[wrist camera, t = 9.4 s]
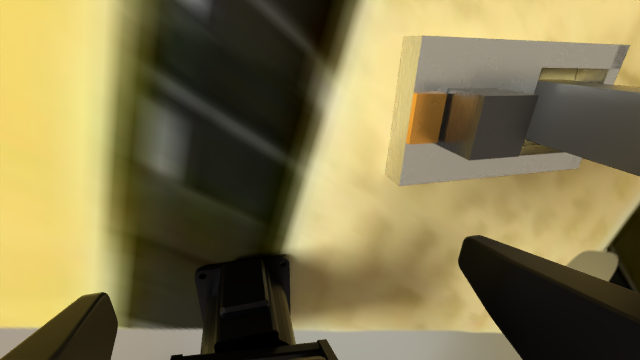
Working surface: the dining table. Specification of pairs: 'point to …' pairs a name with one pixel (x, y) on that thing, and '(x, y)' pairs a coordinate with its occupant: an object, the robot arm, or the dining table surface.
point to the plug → (589, 121)
